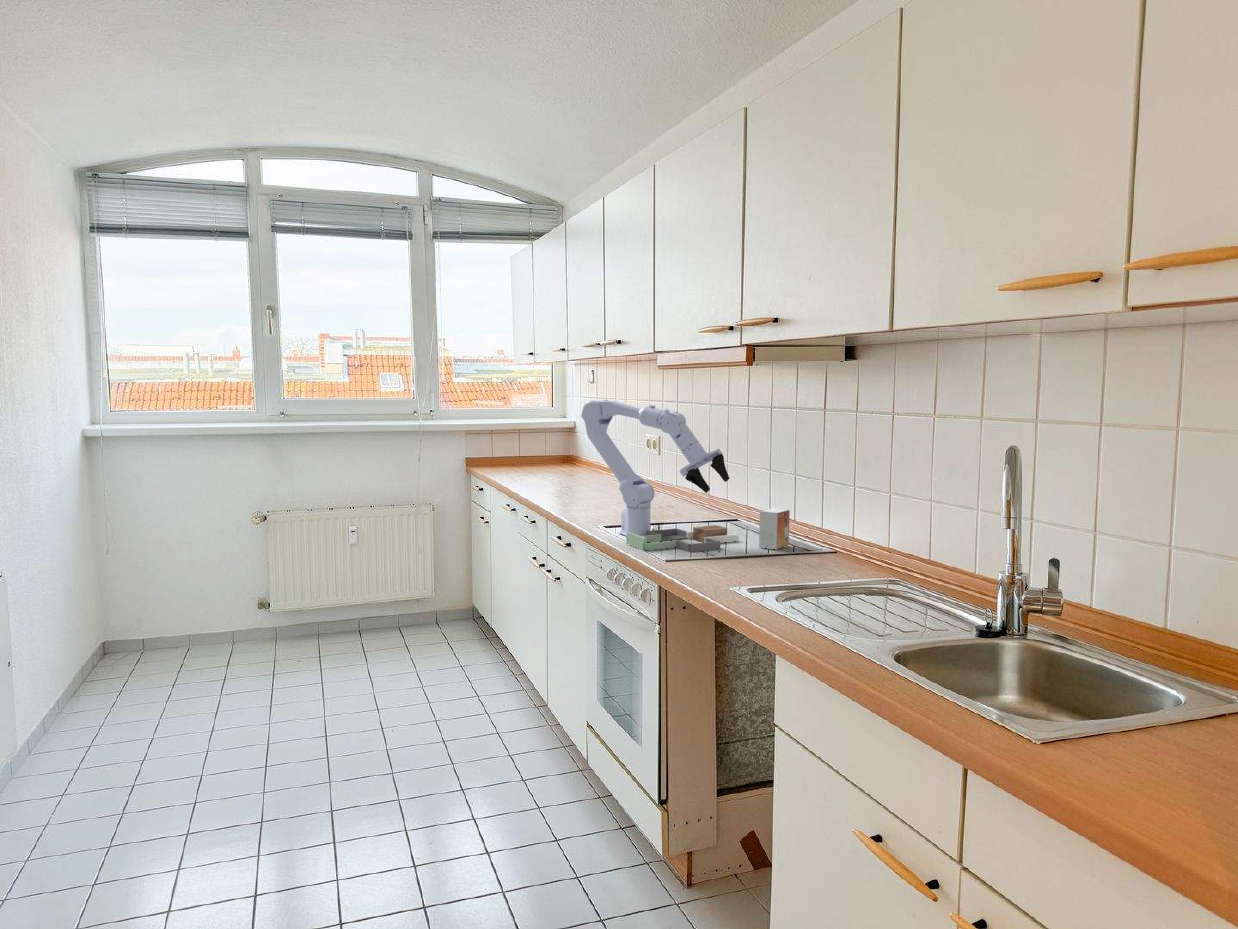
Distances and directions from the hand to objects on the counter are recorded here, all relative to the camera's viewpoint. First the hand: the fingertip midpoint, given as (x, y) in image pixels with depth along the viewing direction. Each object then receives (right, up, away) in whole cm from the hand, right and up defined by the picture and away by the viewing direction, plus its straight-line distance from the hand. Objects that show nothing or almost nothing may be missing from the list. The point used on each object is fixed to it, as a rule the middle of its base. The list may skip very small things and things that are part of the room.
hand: (717, 485), depth 240 cm
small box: (+16, -18, -2) cm, 23 cm away
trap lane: (-10, -17, +3) cm, 19 cm away
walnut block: (-1, -16, +7) cm, 18 cm away
